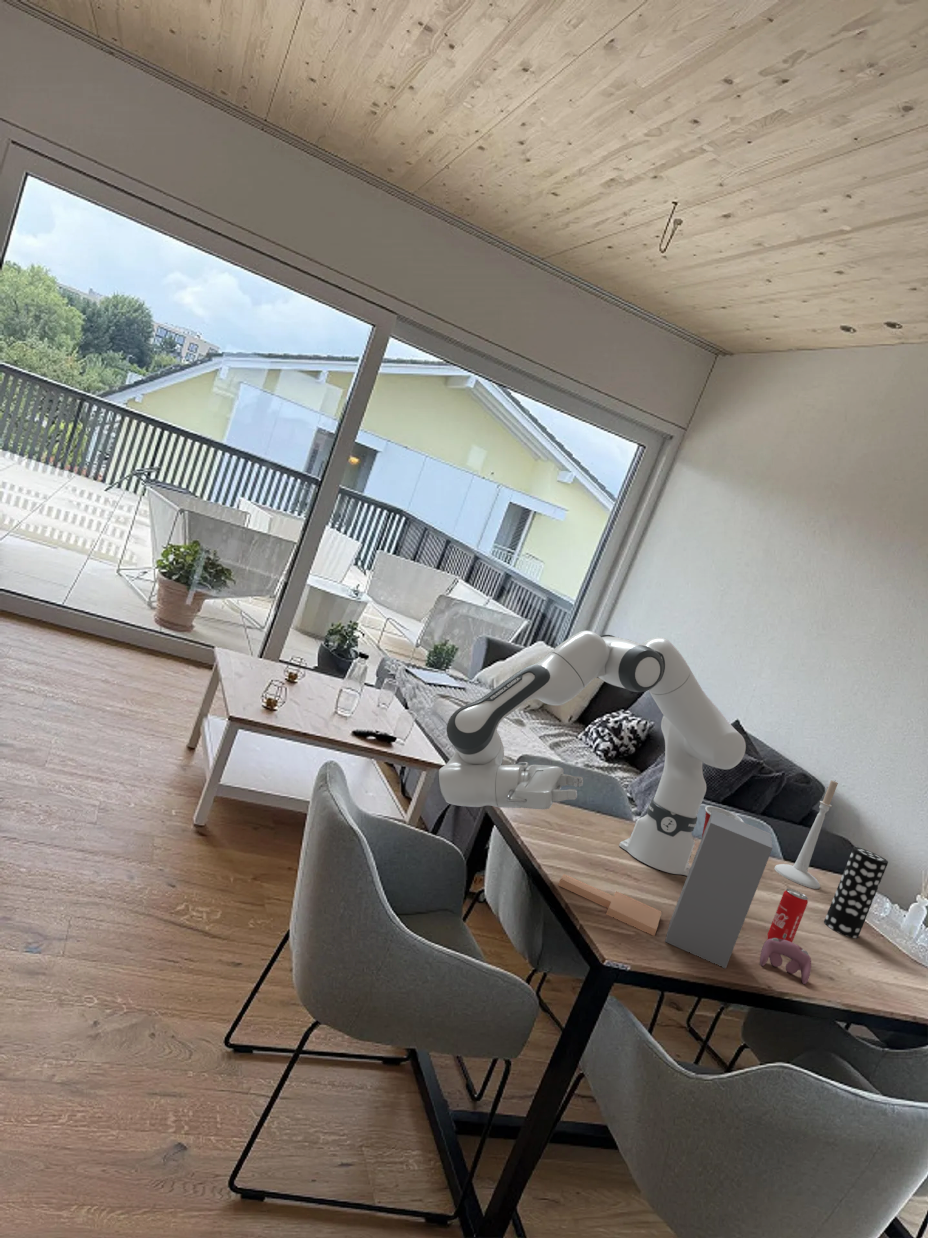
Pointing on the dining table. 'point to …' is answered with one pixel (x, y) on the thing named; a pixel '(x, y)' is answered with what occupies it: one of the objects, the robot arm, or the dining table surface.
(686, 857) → the robot arm
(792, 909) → the beverage can
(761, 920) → the dining table surface
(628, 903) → the wooden paddle
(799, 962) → the video game controller
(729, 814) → the plastic cup
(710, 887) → the tall box
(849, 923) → the white-spotted black cylinder
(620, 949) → the dining table surface
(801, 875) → the candlestick
